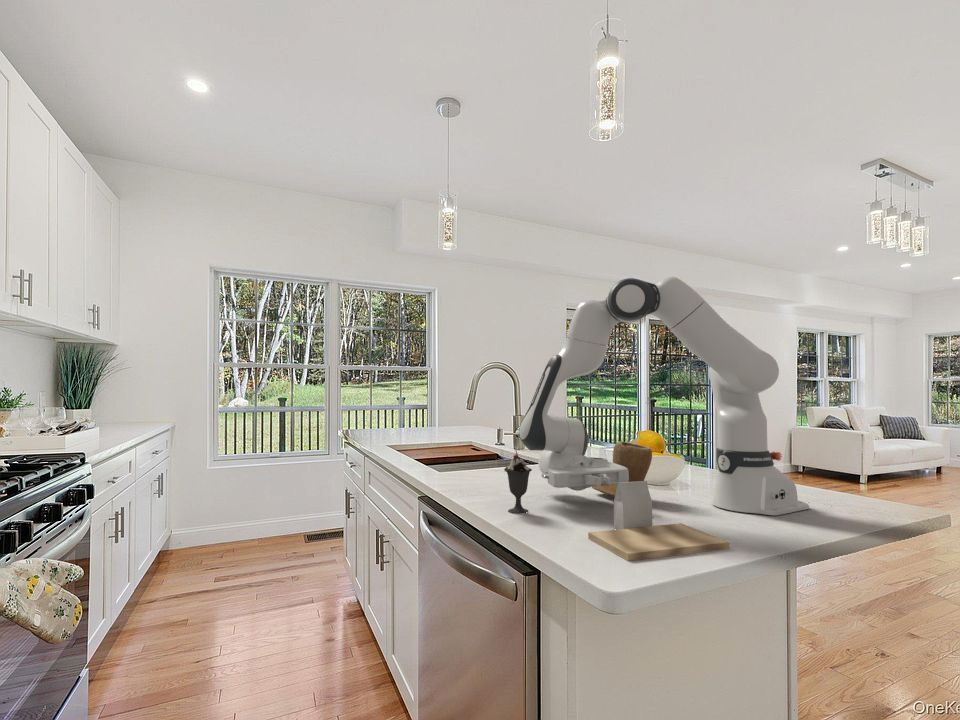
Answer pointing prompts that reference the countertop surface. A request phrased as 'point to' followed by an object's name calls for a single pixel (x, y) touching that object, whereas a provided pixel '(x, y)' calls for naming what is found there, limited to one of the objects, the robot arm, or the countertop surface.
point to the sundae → (518, 481)
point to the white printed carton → (632, 505)
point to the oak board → (657, 541)
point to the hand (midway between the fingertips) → (604, 481)
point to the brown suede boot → (629, 464)
